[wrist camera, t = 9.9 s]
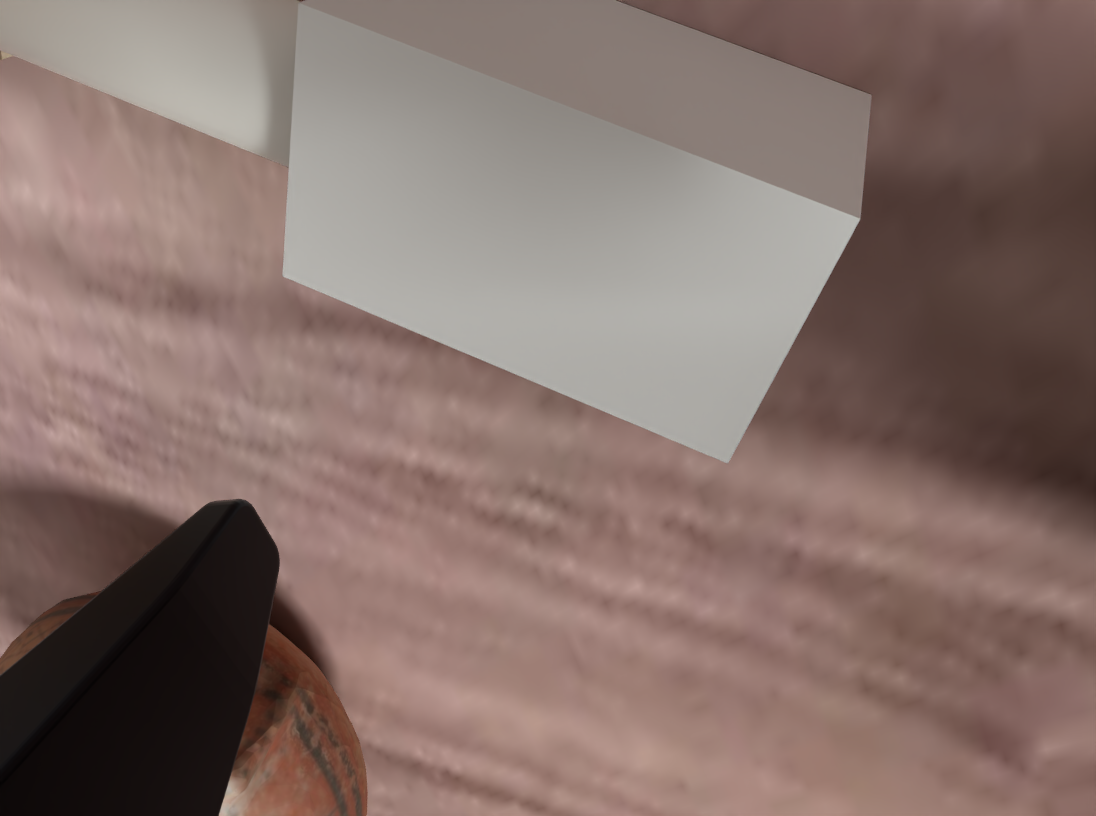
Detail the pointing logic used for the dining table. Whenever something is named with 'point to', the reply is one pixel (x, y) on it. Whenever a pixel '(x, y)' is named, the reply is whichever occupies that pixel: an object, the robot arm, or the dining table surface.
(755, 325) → the outer sleeve
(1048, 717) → the dining table surface
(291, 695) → the bowl
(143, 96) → the multicoloured piece
